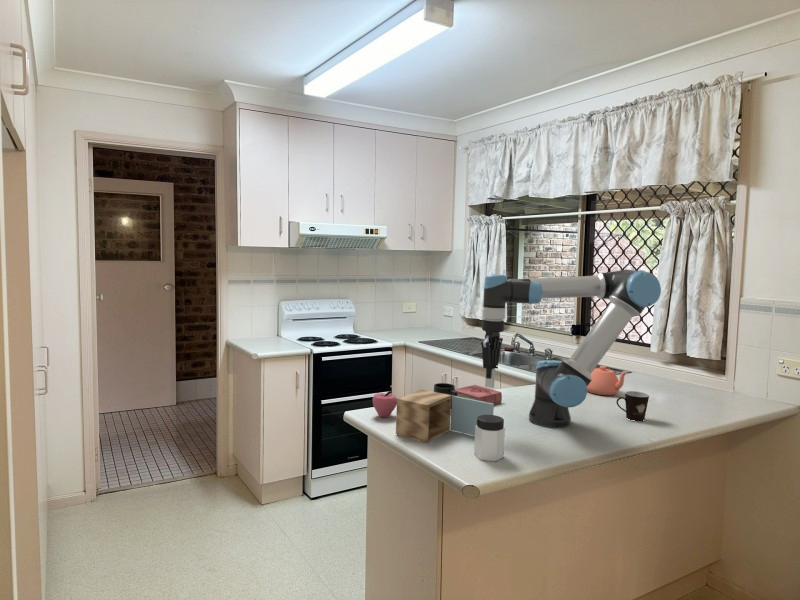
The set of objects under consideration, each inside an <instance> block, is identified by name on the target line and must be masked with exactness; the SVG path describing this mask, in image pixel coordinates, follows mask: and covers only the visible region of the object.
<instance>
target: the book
mask: <svg viewBox="0 0 800 600" xmlns="http://www.w3.org/2000/svg"><path fill="white" fill-rule="evenodd" d="M455 391H456V392H457V396H458V397H463V398H468V399H473V400H478V401H483V402H488V403H493V404H494V406H495V405H497V404H501V403H502V400H503V395H502V391H499V390H494V389H493V388H489V387H485V386H480V385H477V384H473V385H469V386H463V387H458V388H455Z"/></svg>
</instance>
